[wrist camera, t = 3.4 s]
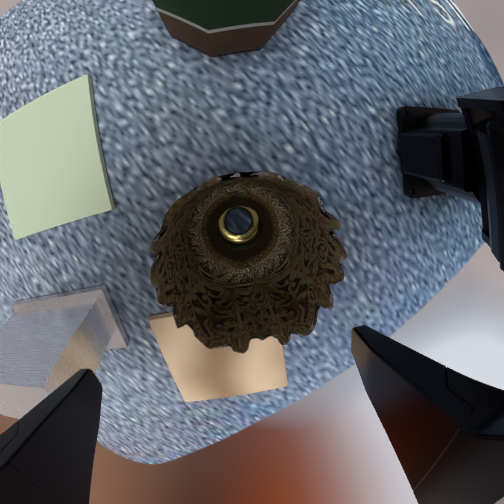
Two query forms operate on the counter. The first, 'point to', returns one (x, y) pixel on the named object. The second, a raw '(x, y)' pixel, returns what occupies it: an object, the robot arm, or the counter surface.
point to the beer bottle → (224, 22)
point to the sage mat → (53, 160)
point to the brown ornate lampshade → (247, 260)
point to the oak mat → (217, 363)
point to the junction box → (54, 344)
